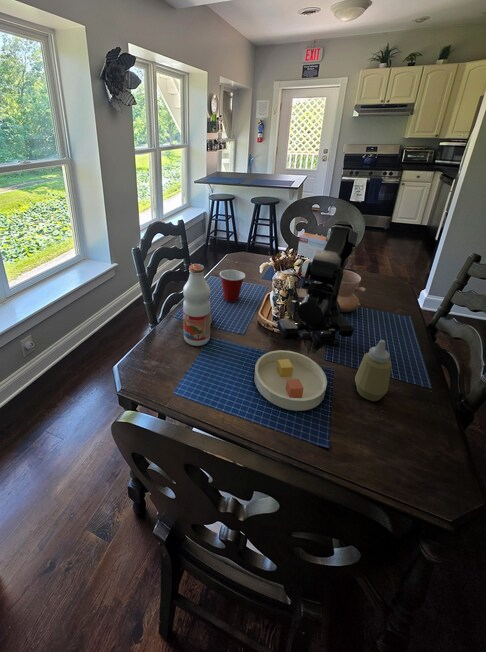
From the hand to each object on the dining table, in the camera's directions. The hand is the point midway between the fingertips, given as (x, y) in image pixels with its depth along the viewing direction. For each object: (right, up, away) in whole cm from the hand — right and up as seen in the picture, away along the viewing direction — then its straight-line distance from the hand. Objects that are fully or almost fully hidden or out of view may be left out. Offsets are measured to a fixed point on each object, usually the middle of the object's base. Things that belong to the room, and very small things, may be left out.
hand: (310, 352), depth 89 cm
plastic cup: (-15, +8, +49) cm, 52 cm away
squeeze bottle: (+16, -12, 0) cm, 20 cm away
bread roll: (-30, +2, +34) cm, 45 cm away
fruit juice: (-31, -2, +24) cm, 39 cm away
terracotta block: (-5, -11, 0) cm, 12 cm away
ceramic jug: (+27, +6, +42) cm, 51 cm away
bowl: (-5, -10, +4) cm, 12 cm away
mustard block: (-5, -8, +8) cm, 12 cm away
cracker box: (+26, +16, +66) cm, 73 cm away
